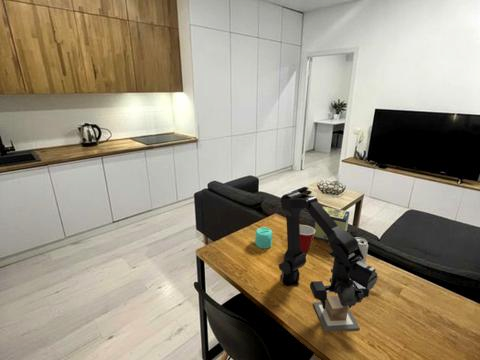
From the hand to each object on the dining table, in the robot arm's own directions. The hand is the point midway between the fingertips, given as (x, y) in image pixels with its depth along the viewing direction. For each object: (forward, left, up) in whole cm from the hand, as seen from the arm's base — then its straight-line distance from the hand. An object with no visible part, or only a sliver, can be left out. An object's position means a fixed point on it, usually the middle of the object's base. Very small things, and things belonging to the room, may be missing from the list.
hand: (336, 307), depth 92 cm
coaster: (0, 0, -4) cm, 4 cm away
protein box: (+18, +51, -4) cm, 54 cm away
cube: (0, 0, -3) cm, 3 cm away
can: (+22, +29, -4) cm, 37 cm away
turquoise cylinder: (-19, +47, -4) cm, 51 cm away
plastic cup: (0, +41, -4) cm, 41 cm away
